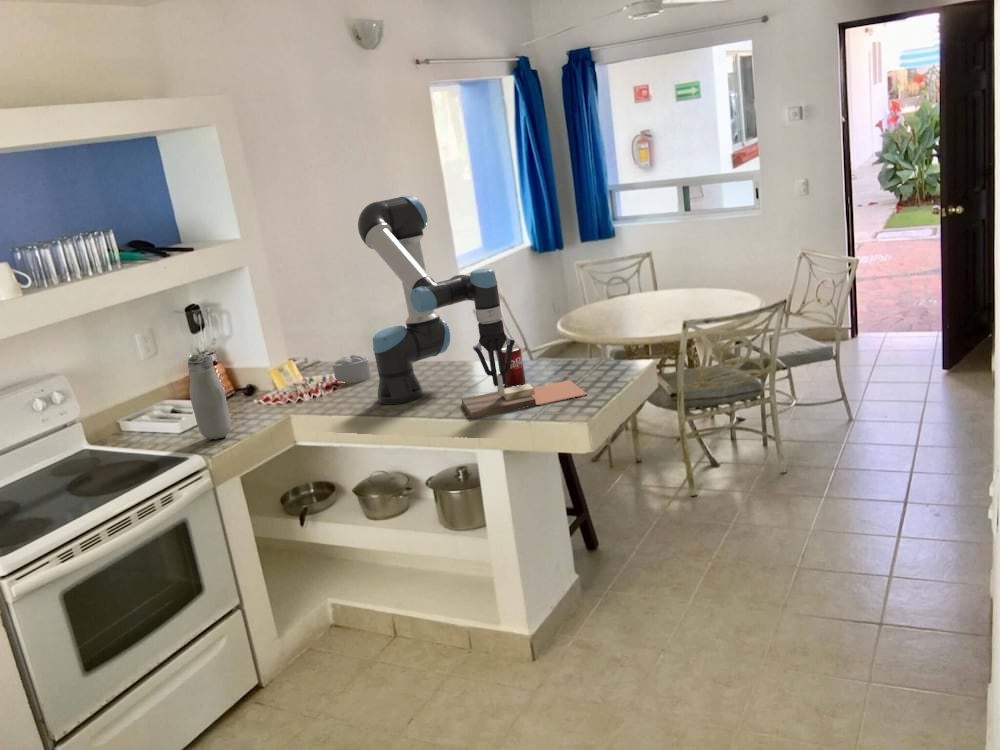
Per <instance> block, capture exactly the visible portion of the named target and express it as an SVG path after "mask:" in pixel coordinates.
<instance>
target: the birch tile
mask: <svg viewBox="0 0 1000 750" xmlns="http://www.w3.org/2000/svg"><path fill="white" fill-rule="evenodd" d="M504 393H505V396H503V397H504V398H505V399H506V400H510V399H515V398H520V397H525V396H529V395H534V394H535V392H534V386H532V385H531V384H530V383H524V384H523V385H519V386H515V387H506V388H505V387H504Z"/></svg>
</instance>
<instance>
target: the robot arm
mask: <svg viewBox="0 0 1000 750" xmlns="http://www.w3.org/2000/svg"><path fill="white" fill-rule="evenodd" d="M427 226H428V214H427V211H426V208H425V206H424V205H423V203H422V202H421V201H420V200H419V198H417V197H415V196H413V195H406V196H405V195H404V196H399V197H395V198H390V199H385V200H381V201H374V202H371V203H369V204H368V205H366V206H365V207H364V208H363V209H362V210H361V212H360V214H359V217H358V223H357V228H358V229H357V230H358V234H359V236H360V239H361V240H362V242H363V244H364V245H366V246H367V247H368V248H369V249H371V250H374V251H375V252H376V254H378V255H379V257H380V258H381V259H382V260H383V262H385V263H386V265H387V266H388V268H390V269H391V270H392V271H393V273H394V274H395V275H396V276H397V277H398V279H400V281H401V285H402V288H403V295H404V297H405V298H404V299H405V304H406V307H407V312H408V317H407V319H406V320H405V326H404V325H394V326H392V327H387V328H385V329H382V330H380V331H378V332H376V334H375V335H374V336H373V337H372V347H373V348H372V349H373V352H374V353H373V354H374V358H375V362H376V366H377V367H376V368H377V373H378V378H379V380H378V381H379V382H378V388H377V401H378V403H379V404H382V405H398V404H399V405H400V404H404V403H409V402H412V401H414V400H417V399H418V398H421V397H422V396H423V395H424V392H423V390H424V389H423V387H422V386H423V385H421V382H420V381H419V379H418V377H417V376H416V374H415V371H414V366H413V363H415V362H420V361H421V360H425V359H428V358H431V357H437V356H438V355H440V354H443V353H445V352H446V351H447V350H448V348H449V346H450V343H451V332H450V328H449V326H448V325H447V322H446V321H445V319H442V318H440V314H439V313H437V312H436V311H435V310H438V309H440V308H444V307H447V306H448V307H449V306H451V305H454V304H458V303H462V302H466V301H471V302H473V301H474V302H473V303H474V307H475V314H476V315H475V316H476V321H477V322H478V324H477V326H478V333H479V339H478V343H477V344H476V345H473V346H472V349H473V351H475V352H476V354H477V356H478V358H479V361H480V363H481V365H482V367H483V370H484V372H485V374H486V375H487V376H490V377H491V378H492V382H493V386H494V387H497V391H498V394H499V396H500V397H501V396H505V393H504V389H505V387H504V386H505V385H504V384H506V377H505V374H506V372H509V371H510V368H511V357H512V347H514V345H515V340H514V339H513V338H509V337H508V336H507V335H506V333H505V329H504V328H505V327H504V321H503V319H502V318H503V315H502V314H503V313H502V308H501V303H500V296H499V289H498V281H497V277H496V273H495V269H492V268H481V269H476V270H473V271H471V272H470V274H469V275H466V274H457V275H453V276H452V277H450V278H448V279H446V280H441V281H438V282H436V281H435V279H433V278H432V277H431V276H430V275H429V273H428V272H427V271H426V265H425V260H424V255H423V250H422V245H421V241H422V238H423V237H424V231H423V230H424V229H425V228H426V227H427ZM505 345H506V347H505V348H506V360H505V368H504V363H503V357H502V349H503V348H504V346H505ZM482 347H483V348H484V349H485V350H486V351H487V354H488V359H489V366H490V368H489V366H488V364H487V361H486V358H485V357H484V354H483V351H482V350H483V348H482ZM494 352H495V353H496V357H497V364H498V370H499V373H497V366H496V359H495V353H494Z"/></svg>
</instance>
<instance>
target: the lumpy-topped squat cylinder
mask: <svg viewBox="0 0 1000 750" xmlns="http://www.w3.org/2000/svg"><path fill="white" fill-rule="evenodd" d="M369 361H370V360H369V358H367V357H364V356H362V355H358V354H351V355H350V356H341V357H340V358H339V359H338V360H336V361H335V362H334V363H333V364H332V369H333V374H334V375H333V376H334V379H335V378H336V379H338V380H341V381H343V382H345V383H346V384H348V385H349V384H356V383H360V382H365V381H368V380H370V379H372V377H373V376H372V372H371V367H370V363H369Z"/></svg>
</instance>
